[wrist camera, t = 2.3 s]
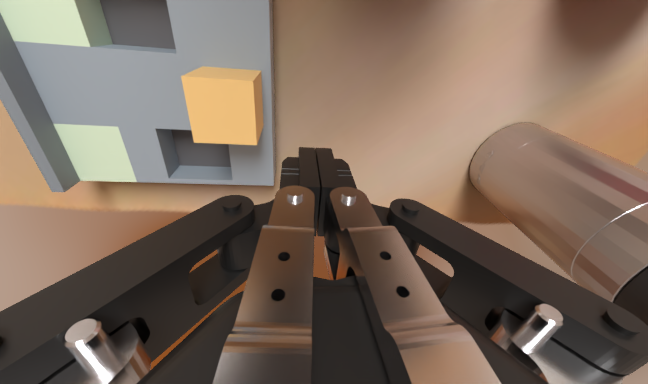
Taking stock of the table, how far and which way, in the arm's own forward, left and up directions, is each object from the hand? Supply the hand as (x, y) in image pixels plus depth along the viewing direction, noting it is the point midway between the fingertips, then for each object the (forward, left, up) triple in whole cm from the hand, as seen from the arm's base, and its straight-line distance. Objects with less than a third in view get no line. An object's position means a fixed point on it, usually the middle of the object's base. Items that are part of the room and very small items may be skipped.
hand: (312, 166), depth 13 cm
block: (+6, 0, -12) cm, 14 cm away
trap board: (+12, 0, -15) cm, 20 cm away
